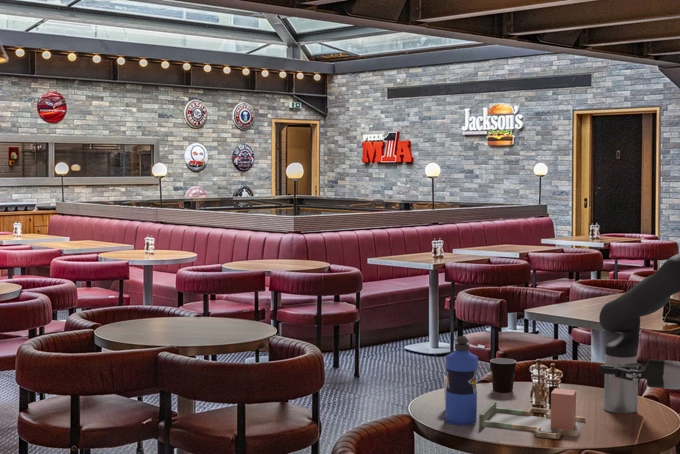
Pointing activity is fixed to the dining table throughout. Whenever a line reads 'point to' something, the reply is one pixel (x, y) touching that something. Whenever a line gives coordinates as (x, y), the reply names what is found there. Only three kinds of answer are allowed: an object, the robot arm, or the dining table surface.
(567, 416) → the pink rectangular block
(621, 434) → the dining table surface
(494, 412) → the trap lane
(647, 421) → the dining table surface
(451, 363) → the water bottle
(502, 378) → the coffee mug
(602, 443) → the dining table surface
